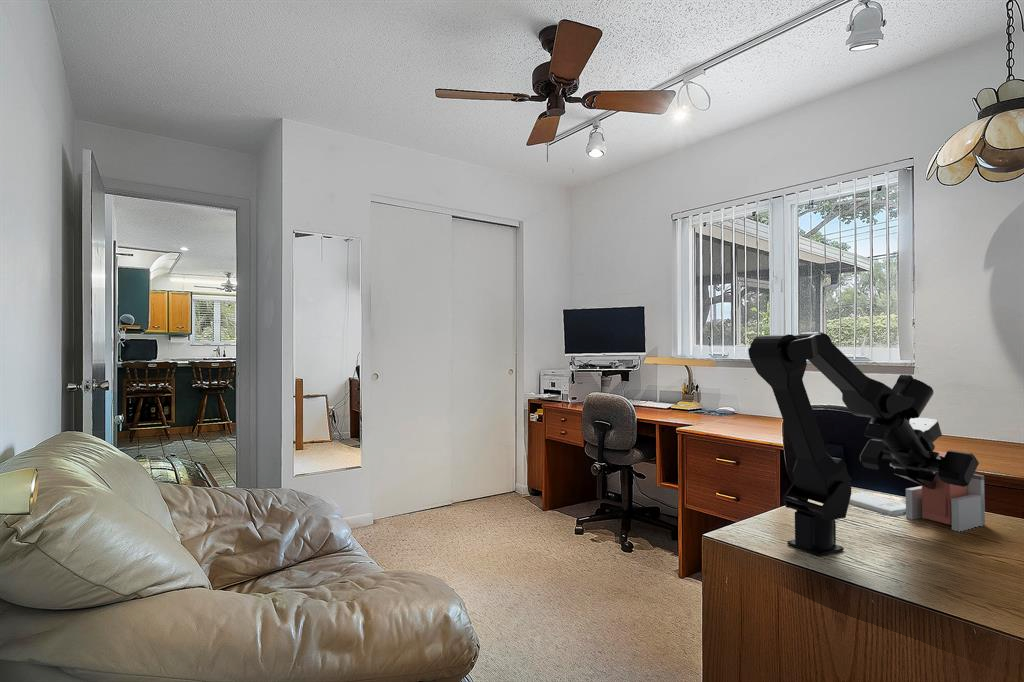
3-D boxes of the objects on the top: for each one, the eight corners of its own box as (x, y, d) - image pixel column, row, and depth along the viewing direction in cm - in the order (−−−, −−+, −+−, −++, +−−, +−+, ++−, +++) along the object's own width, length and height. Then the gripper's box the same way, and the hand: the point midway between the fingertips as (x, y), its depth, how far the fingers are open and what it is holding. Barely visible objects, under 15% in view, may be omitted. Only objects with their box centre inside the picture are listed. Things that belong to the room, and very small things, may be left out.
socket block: (959, 532, 103) (958, 480, 103) (906, 518, 112) (905, 470, 112) (985, 525, 107) (984, 475, 107) (931, 512, 115) (931, 466, 115)
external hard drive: (863, 498, 128) (918, 513, 116) (838, 502, 125) (891, 518, 113) (863, 491, 128) (918, 506, 116) (837, 495, 125) (891, 510, 113)
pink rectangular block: (948, 525, 105) (947, 458, 106) (920, 517, 110) (919, 453, 110) (967, 520, 108) (966, 455, 108) (939, 513, 113) (938, 451, 113)
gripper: (972, 409, 97) (1006, 465, 102) (867, 400, 114) (900, 448, 119) (947, 457, 94) (984, 512, 98) (843, 441, 111) (878, 488, 115)
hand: (933, 487), depth 108 cm, fingers closed, pressing on pink rectangular block
